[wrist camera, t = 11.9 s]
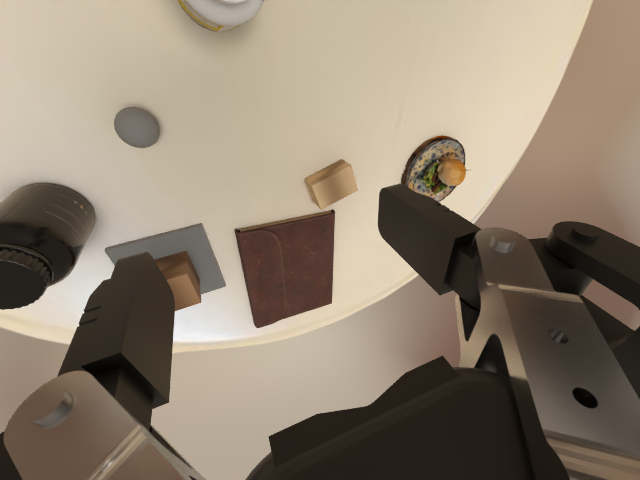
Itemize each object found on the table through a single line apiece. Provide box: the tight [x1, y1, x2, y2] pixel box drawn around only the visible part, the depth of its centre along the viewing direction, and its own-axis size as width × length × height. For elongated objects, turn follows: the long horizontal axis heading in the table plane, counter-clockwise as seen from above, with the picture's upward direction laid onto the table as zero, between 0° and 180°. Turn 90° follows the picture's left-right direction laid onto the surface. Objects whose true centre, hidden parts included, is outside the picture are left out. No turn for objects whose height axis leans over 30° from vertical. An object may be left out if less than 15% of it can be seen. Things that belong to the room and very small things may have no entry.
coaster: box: [105, 223, 226, 294], centre depth 37 cm, size 11×11×1 cm
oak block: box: [305, 159, 358, 210], centre depth 38 cm, size 6×4×3 cm, turn 110°
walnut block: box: [155, 251, 201, 311], centre depth 35 cm, size 5×5×5 cm
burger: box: [401, 136, 466, 202], centre depth 44 cm, size 12×12×8 cm
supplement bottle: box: [0, 184, 95, 310], centre depth 24 cm, size 7×7×12 cm
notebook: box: [235, 210, 335, 328], centre depth 45 cm, size 15×20×2 cm
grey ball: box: [114, 107, 159, 148], centre depth 26 cm, size 4×4×4 cm
